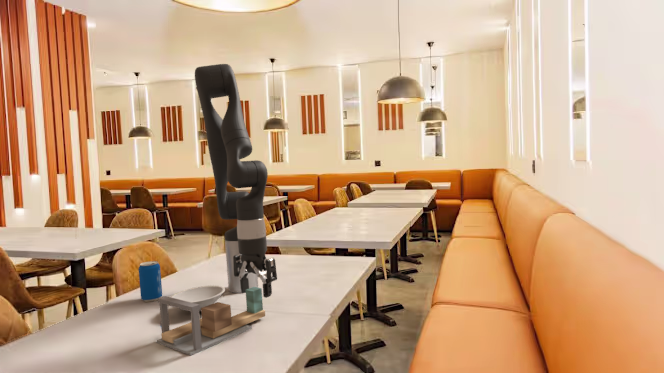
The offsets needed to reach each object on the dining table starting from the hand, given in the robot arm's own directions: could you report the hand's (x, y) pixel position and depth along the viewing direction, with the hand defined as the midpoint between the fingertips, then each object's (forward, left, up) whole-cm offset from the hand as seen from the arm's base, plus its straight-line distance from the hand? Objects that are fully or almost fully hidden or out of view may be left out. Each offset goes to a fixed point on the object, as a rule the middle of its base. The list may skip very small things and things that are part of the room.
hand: (256, 294), depth 117 cm
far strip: (+19, -6, -7) cm, 21 cm away
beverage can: (+5, -45, -7) cm, 46 cm away
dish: (+4, -21, -7) cm, 23 cm away
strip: (+8, 0, -7) cm, 10 cm away
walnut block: (+13, 0, -4) cm, 14 cm away
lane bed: (+15, -3, -7) cm, 16 cm away
